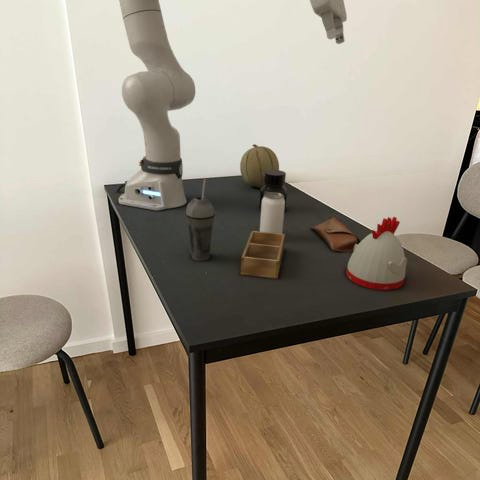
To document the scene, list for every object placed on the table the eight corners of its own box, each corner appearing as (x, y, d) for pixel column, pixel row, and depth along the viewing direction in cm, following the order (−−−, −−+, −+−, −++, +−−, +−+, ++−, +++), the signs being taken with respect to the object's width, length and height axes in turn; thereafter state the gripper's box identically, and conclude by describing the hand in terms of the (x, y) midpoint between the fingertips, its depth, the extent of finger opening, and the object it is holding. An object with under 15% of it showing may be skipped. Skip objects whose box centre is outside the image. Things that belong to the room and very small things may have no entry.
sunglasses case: (308, 226, 138) (321, 208, 136) (325, 237, 142) (338, 218, 139) (332, 251, 124) (347, 230, 122) (350, 261, 127) (365, 241, 125)
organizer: (240, 274, 111) (241, 257, 108) (250, 246, 126) (251, 230, 123) (277, 278, 110) (279, 261, 107) (283, 249, 124) (285, 234, 122)
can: (280, 241, 129) (284, 200, 123) (257, 239, 130) (260, 197, 124) (283, 233, 134) (286, 193, 128) (261, 231, 135) (264, 190, 129)
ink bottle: (285, 205, 156) (288, 169, 150) (288, 214, 149) (292, 176, 143) (256, 204, 156) (259, 168, 150) (258, 213, 149) (261, 175, 142)
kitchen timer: (415, 281, 112) (431, 223, 104) (376, 295, 105) (390, 233, 97) (373, 260, 121) (385, 204, 113) (334, 271, 115) (344, 213, 107)
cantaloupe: (274, 194, 166) (277, 151, 158) (235, 189, 169) (236, 147, 161) (280, 183, 178) (284, 143, 170) (244, 179, 181) (245, 139, 173)
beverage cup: (182, 253, 120) (180, 176, 109) (208, 249, 122) (209, 174, 112) (191, 264, 114) (190, 184, 104) (218, 261, 117) (220, 182, 106)
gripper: (319, -13, 108) (332, 50, 112) (296, -35, 91) (312, 41, 95) (345, -26, 105) (358, 40, 109) (326, -51, 88) (342, 28, 92)
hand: (336, 40), depth 102 cm, fingers open, 8 cm apart
